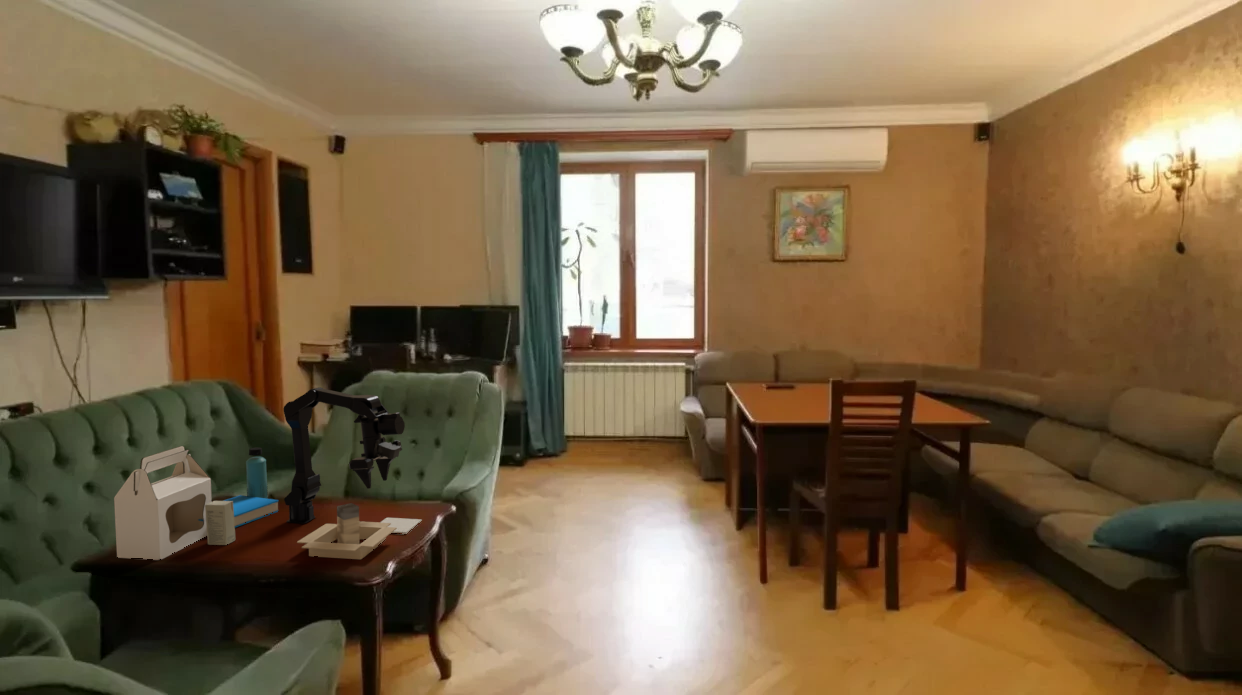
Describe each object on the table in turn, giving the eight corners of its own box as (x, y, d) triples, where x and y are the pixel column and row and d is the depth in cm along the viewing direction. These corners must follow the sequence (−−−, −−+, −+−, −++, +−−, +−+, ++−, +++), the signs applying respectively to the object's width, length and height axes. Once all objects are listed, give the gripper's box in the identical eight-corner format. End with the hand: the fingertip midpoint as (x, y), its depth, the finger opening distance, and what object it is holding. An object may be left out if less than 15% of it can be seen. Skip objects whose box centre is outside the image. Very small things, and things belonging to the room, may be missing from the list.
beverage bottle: (270, 504, 247) (269, 448, 245) (250, 508, 242) (248, 451, 240) (264, 500, 251) (262, 445, 249) (244, 504, 247) (242, 447, 245)
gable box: (159, 561, 196) (155, 462, 194) (115, 558, 198) (110, 460, 195) (213, 533, 218) (210, 444, 216) (174, 531, 220) (170, 442, 217)
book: (279, 499, 240) (217, 520, 216) (279, 512, 240) (217, 534, 216) (238, 494, 245) (174, 514, 221) (238, 507, 245) (174, 528, 221)
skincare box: (236, 540, 212) (234, 500, 211) (226, 545, 208) (225, 505, 207) (215, 539, 213) (214, 499, 212) (206, 544, 209) (204, 504, 208)
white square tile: (369, 532, 221) (369, 529, 221) (386, 519, 233) (386, 517, 233) (406, 534, 219) (406, 532, 219) (421, 521, 231) (421, 519, 231)
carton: (290, 560, 198) (289, 546, 198) (332, 532, 220) (332, 519, 220) (366, 565, 195) (366, 551, 195) (401, 536, 218) (401, 523, 217)
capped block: (337, 547, 208) (336, 506, 207) (352, 543, 211) (351, 502, 210) (344, 551, 205) (343, 509, 204) (359, 547, 208) (358, 506, 207)
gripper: (378, 441, 212) (384, 492, 213) (409, 428, 230) (415, 475, 231) (345, 442, 214) (351, 493, 215) (379, 430, 233) (384, 476, 234)
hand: (377, 484), depth 224 cm, fingers open, 9 cm apart
